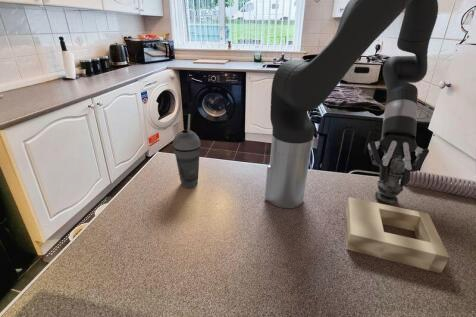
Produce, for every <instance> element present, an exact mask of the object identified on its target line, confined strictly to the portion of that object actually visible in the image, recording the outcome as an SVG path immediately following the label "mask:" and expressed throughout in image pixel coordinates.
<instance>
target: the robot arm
mask: <svg viewBox="0 0 476 317" xmlns="http://www.w3.org/2000/svg"><path fill="white" fill-rule="evenodd" d="M403 12H404V13H403ZM402 13H403V17H402V22H401V26H400V29H399V30H400V31H399V33H398V37H397V41H396V42H397V43H396V46H397V48H398V49H399V50H400V51H402V52H406V53H410V54H413V55H396V56H395V55H394V56H391V57H389V58H388V59H386V61H385V62H384V64H383V67H382V76H383V79H384V80H383V81H384V84H385V87H386V103H385V104H386V105H385V108H384V112H383V118H382V128H381V138H380V139H379V140H377V141H374V140H371V141H369V142H368V144H367V150H368V153H369V157H370V160H371V162H372V165H373V166H377V167H379V174H378V179H379V180H381V183H386V182H387V176H388V169H389V166H388V165H389V163H390V162H391V161H390V160H391V159H395V158H399V156H401V157H402V158H401V159H402V160H404V162H405V165H404V168H403V171H402V173H403V176H401V177H400V180H399V184H400V186H402V187H403V188H404V187H406V186H408V185H407V184H408V183H409V182H410V172H415V171H419V169H420V168H421V167H422V165H423V163H424V162H425V160H426V158H427V156H428V155H429V152H430V150H429V149H428V148H424V149H423V148H422V147H420V146H418V144H417V142H416V136H417V126H418V125H417V123H418V95H419V94H418V93H419V92H418V91H419V90H418V88H417V86H416V85H415V84H416V83H420V81H422V80H423V79H424V78H425V77H426V75H427V73H428V51H429V50H428V49H429V45H430V40H431V38H432V35H433V31H434V28H435V26H436V23H437V19H438V14H439V1H438V0H349V1H348V2H347V4H346V5H345V7H344V9H343V11H342V14H341V17H340V19H339V24H338V26H337V29H336V32H335V34H334V36H333V37H332V39H331V40H330V41H329V43H327V45H326V46H325V47H324V48H323V49H322V50H321V51H320V52H319V53H318V54H317V55H316V56H315V57H314V58H313V59H312V60H310V61H304V60H299V59H292V60H291V59H290V60H286V61H285V62H283V63H281V65H279V67H278V68H277V69H276V71H275V73H274V75H273V78H272V83H271V92H270V93H271V94H270V115H269V116H270V117H269V118H270V123H271V127H272V133H271V134H272V136H271V147H270V157H269V158H270V159H269V163H268V166H267V168H266V181H265V192H264V201H268V202H269V203H271V204H272V205H274V206H275V207H278V208H281V209H293V208H294V209H295V208H298V207H300V206H301V205H302V204H303V201H304V196H305V190H306V184H307V183H306V182H307V177H308V172H309V165H310V159H311V153H312V148H313V147H312V146H313V141H314V136H315V125H314V124H313V122H312V120H311V118H310V117H309V114H308V112H310V111H312V110H315V109H316V108H318V107H321V105H322V104H323V103H324V102H325V101H326V100H327V99H328V97H329V96H330V95H331V94H332V92H334V90H335V89H336V88H337V87H338V85H339V83H340V82H341V81H342V79H343V78H344V77H345V76H346V75H347V73H348V72H349V71H350V70H351V68H352V67H353V66H354V65H355V63H356V62H358V60H359V59H360V57H361V56H362V55H364V53H365V52H366V51H367V50H368V49H369V48H370V46H372V44H373V43H375V41H376V40H377V39H378V38H379V36H380V35H381V34H382V33H384V32H385V31H386V29H388V27H390V25H391V24H392V23H393V22H394V21H395V20H396V19H397V18H398V17H399V16H400V15H401V14H402ZM414 83H415V84H414ZM379 148H380V149H381V150H382V152H383V153H384V154H383V157H382V159H381V158H380V155H379V152H378V149H379ZM413 152H415V156H416V159H415V160H414V162H413V164H412V163H411V160H412V158H411V154H412V153H413Z"/></svg>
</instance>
